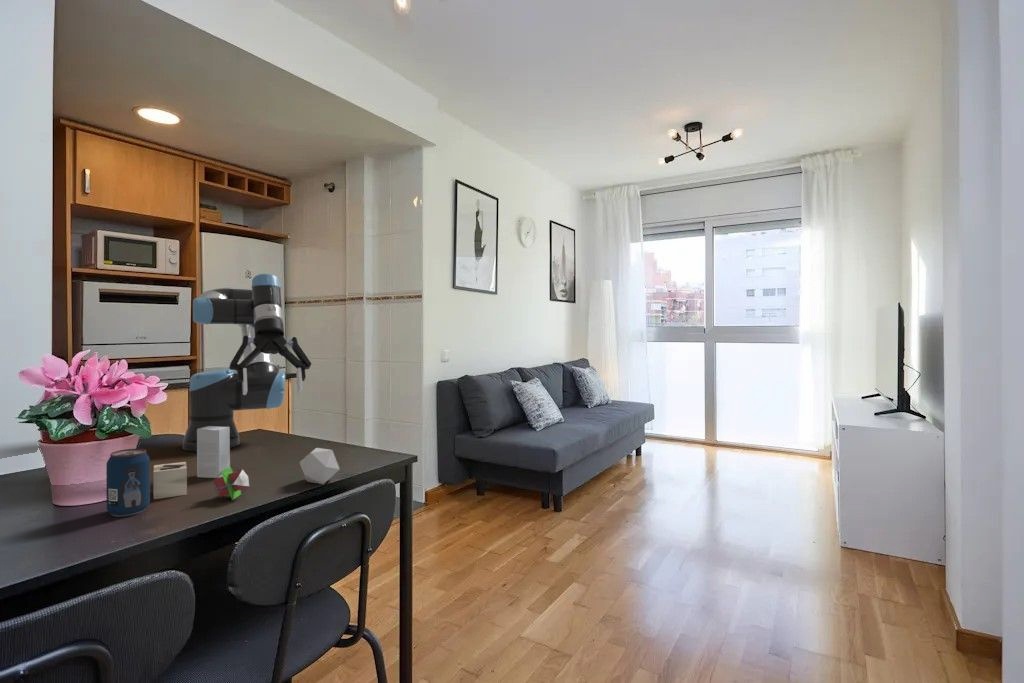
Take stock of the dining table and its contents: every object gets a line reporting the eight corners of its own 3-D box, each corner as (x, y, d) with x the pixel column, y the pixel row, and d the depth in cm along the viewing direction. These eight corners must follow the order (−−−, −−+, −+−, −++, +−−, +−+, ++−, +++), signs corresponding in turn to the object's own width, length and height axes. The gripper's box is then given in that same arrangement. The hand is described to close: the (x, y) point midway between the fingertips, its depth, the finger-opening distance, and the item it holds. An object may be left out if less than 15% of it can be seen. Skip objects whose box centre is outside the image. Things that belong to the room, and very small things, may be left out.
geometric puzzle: (198, 492, 108) (221, 463, 108) (215, 482, 114) (237, 455, 114) (225, 512, 108) (248, 483, 108) (241, 501, 115) (262, 474, 115)
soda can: (129, 504, 106) (129, 446, 106) (158, 506, 105) (158, 448, 104) (97, 516, 99) (96, 455, 99) (127, 519, 98) (127, 457, 98)
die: (346, 482, 125) (338, 446, 130) (332, 474, 118) (325, 436, 122) (314, 494, 125) (307, 458, 129) (298, 487, 117) (292, 448, 122)
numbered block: (154, 492, 114) (153, 464, 114) (185, 487, 117) (185, 460, 117) (153, 499, 109) (153, 471, 109) (186, 494, 112) (186, 467, 112)
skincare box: (230, 473, 128) (230, 426, 128) (219, 478, 124) (219, 430, 124) (208, 472, 129) (208, 425, 129) (195, 477, 125) (196, 428, 124)
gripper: (219, 314, 135) (221, 387, 127) (317, 318, 149) (325, 385, 141) (217, 328, 141) (218, 399, 132) (311, 331, 155) (318, 395, 146)
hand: (273, 392), depth 136 cm, fingers open, 13 cm apart
